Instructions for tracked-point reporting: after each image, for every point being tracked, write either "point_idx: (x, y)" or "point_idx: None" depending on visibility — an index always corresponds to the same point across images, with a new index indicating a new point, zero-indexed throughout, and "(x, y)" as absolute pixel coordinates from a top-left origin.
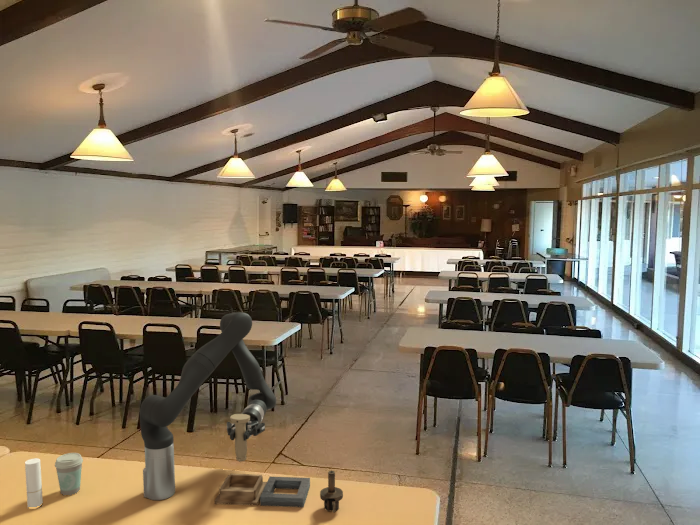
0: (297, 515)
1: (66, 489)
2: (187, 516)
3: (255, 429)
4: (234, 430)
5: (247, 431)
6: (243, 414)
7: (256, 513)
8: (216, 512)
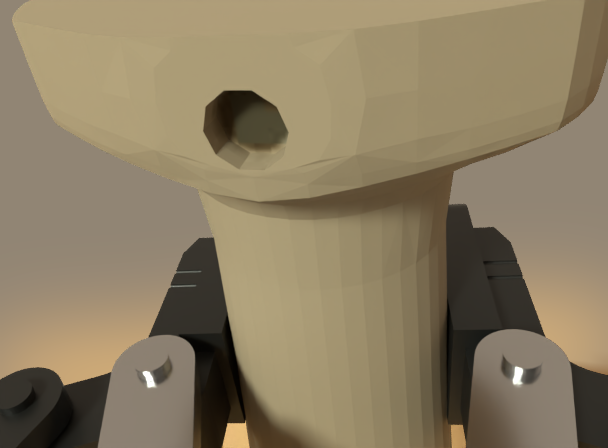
0: None
1: None
2: None
3: (19, 381)
4: (471, 300)
5: (194, 290)
6: (214, 22)
7: (234, 441)
8: (462, 436)
